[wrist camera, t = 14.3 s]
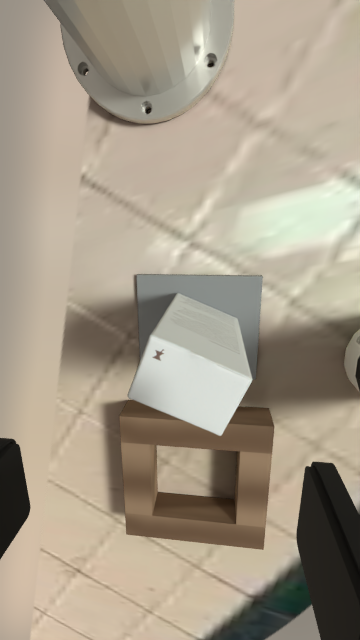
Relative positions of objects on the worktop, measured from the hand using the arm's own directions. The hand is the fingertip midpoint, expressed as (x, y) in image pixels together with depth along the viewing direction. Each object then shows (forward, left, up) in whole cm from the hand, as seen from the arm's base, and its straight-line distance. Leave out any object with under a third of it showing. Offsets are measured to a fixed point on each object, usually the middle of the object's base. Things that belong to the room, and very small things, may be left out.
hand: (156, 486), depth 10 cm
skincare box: (0, 0, -19) cm, 19 cm away
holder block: (+15, 0, -20) cm, 25 cm away
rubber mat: (0, 0, -20) cm, 20 cm away
